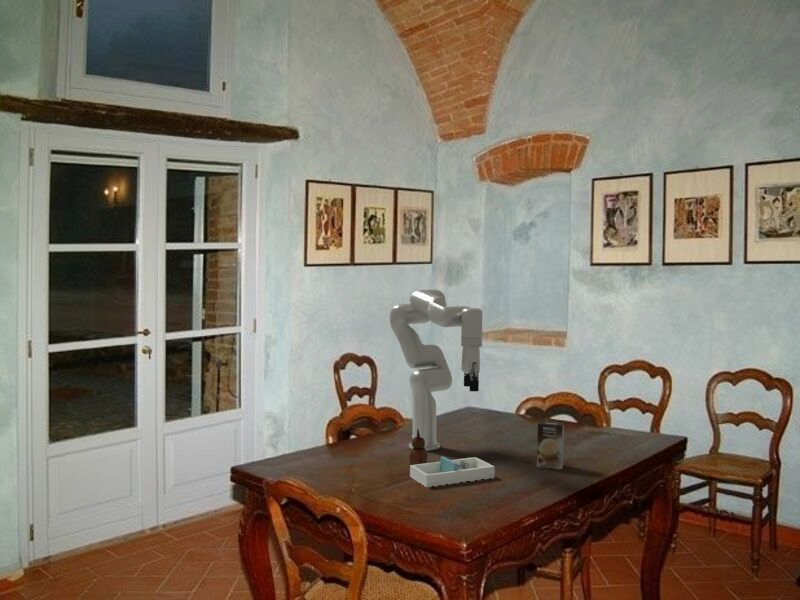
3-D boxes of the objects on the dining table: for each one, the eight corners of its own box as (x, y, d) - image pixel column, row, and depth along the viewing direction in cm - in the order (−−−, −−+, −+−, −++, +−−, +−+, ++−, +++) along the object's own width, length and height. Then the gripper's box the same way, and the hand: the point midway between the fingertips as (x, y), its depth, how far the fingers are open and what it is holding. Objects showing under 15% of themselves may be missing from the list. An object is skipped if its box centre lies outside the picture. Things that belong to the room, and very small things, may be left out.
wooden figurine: (420, 472, 248) (420, 430, 247) (406, 469, 251) (406, 428, 251) (430, 467, 254) (430, 426, 253) (416, 465, 257) (416, 424, 256)
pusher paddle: (440, 470, 245) (440, 456, 245) (458, 467, 248) (459, 454, 248) (453, 478, 236) (453, 463, 236) (473, 475, 239) (473, 461, 239)
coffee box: (536, 467, 254) (536, 423, 253) (538, 462, 260) (539, 420, 259) (562, 470, 251) (562, 425, 250) (563, 465, 257) (564, 421, 256)
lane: (410, 476, 242) (410, 465, 242) (475, 468, 253) (475, 457, 253) (426, 487, 231) (426, 475, 230) (494, 478, 241) (494, 466, 241)
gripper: (456, 339, 263) (456, 384, 264) (466, 345, 246) (466, 393, 247) (476, 339, 264) (475, 384, 265) (487, 344, 247) (486, 393, 248)
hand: (471, 388), depth 256 cm, fingers open, 9 cm apart
